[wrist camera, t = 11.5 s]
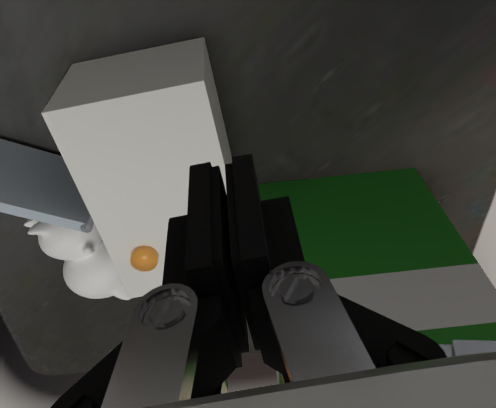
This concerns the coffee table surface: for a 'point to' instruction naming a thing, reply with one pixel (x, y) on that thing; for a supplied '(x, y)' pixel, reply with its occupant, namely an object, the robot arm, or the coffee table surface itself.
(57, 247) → the cat figurine
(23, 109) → the coffee table surface
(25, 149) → the side door
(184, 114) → the white rectangular box
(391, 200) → the hardback book
